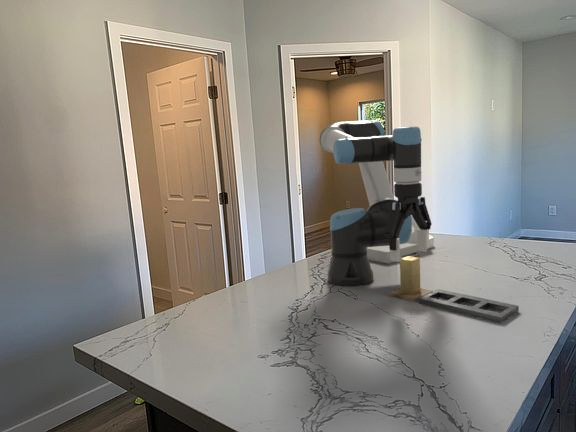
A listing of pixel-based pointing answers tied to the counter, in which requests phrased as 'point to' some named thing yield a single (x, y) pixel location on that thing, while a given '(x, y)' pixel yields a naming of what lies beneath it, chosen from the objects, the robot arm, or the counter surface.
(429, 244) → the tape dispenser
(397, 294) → the walnut pad
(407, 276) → the square wooden peg
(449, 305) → the grey flat slotted block
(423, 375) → the counter surface
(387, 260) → the disc drive
